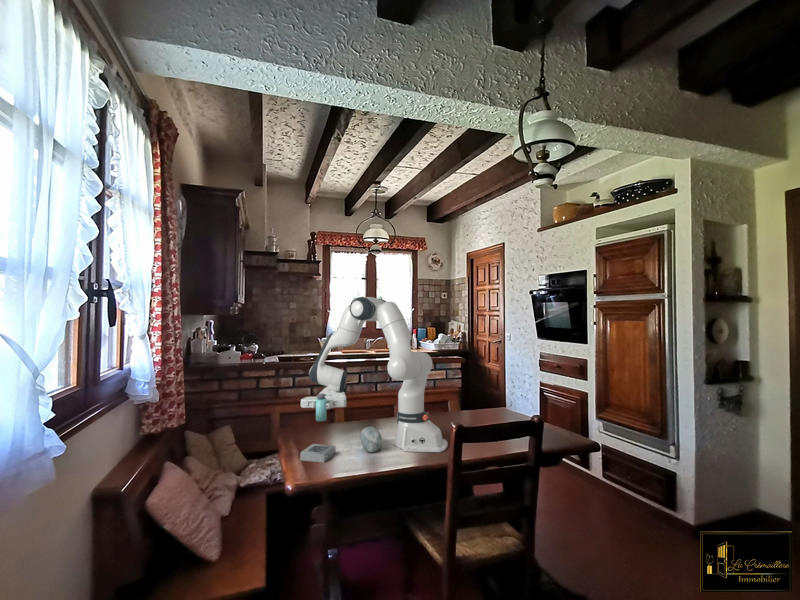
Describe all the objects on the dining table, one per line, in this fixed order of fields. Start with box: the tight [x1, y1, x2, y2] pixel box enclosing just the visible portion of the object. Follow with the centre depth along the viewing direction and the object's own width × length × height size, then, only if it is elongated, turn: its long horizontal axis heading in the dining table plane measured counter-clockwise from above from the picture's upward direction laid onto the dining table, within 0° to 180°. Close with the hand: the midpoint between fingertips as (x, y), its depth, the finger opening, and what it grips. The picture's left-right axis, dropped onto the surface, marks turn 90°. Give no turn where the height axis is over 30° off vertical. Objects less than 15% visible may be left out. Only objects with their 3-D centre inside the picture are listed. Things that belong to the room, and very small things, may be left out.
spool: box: [359, 426, 383, 454], centre depth 163 cm, size 14×10×10 cm
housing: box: [299, 443, 336, 463], centre depth 153 cm, size 10×10×3 cm
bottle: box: [315, 393, 327, 422], centre depth 169 cm, size 4×4×11 cm
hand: (320, 406), depth 168 cm, fingers closed on bottle, 4 cm apart
